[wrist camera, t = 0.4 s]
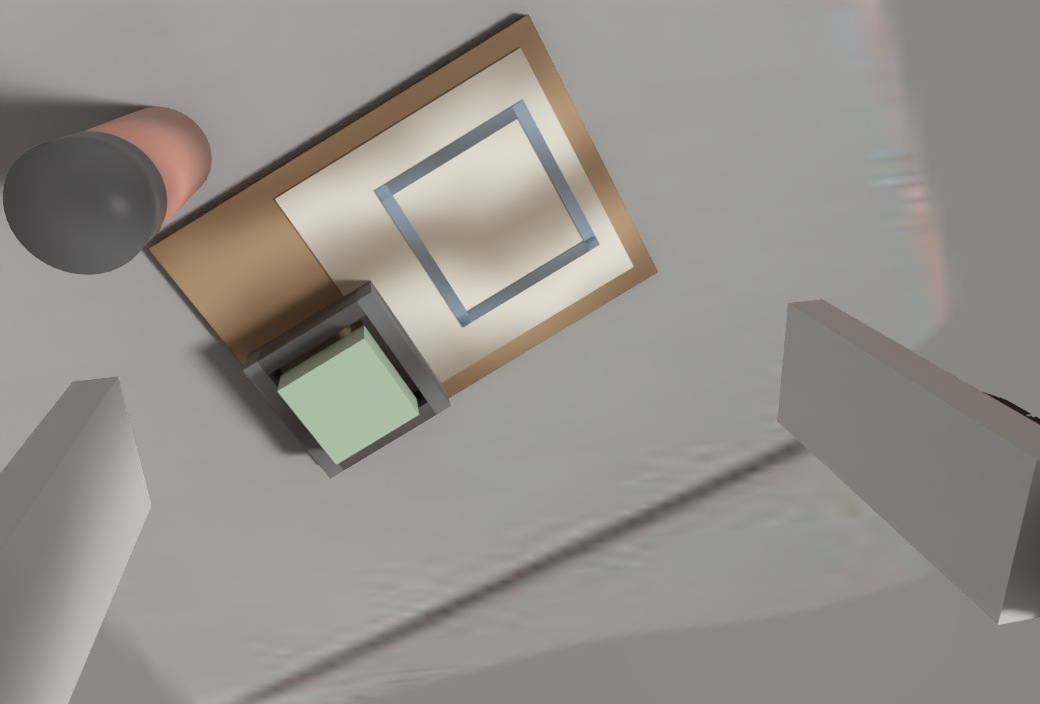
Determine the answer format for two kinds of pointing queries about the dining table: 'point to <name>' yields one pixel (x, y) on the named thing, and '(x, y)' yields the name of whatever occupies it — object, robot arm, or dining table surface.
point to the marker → (105, 189)
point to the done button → (348, 395)
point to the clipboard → (420, 235)
